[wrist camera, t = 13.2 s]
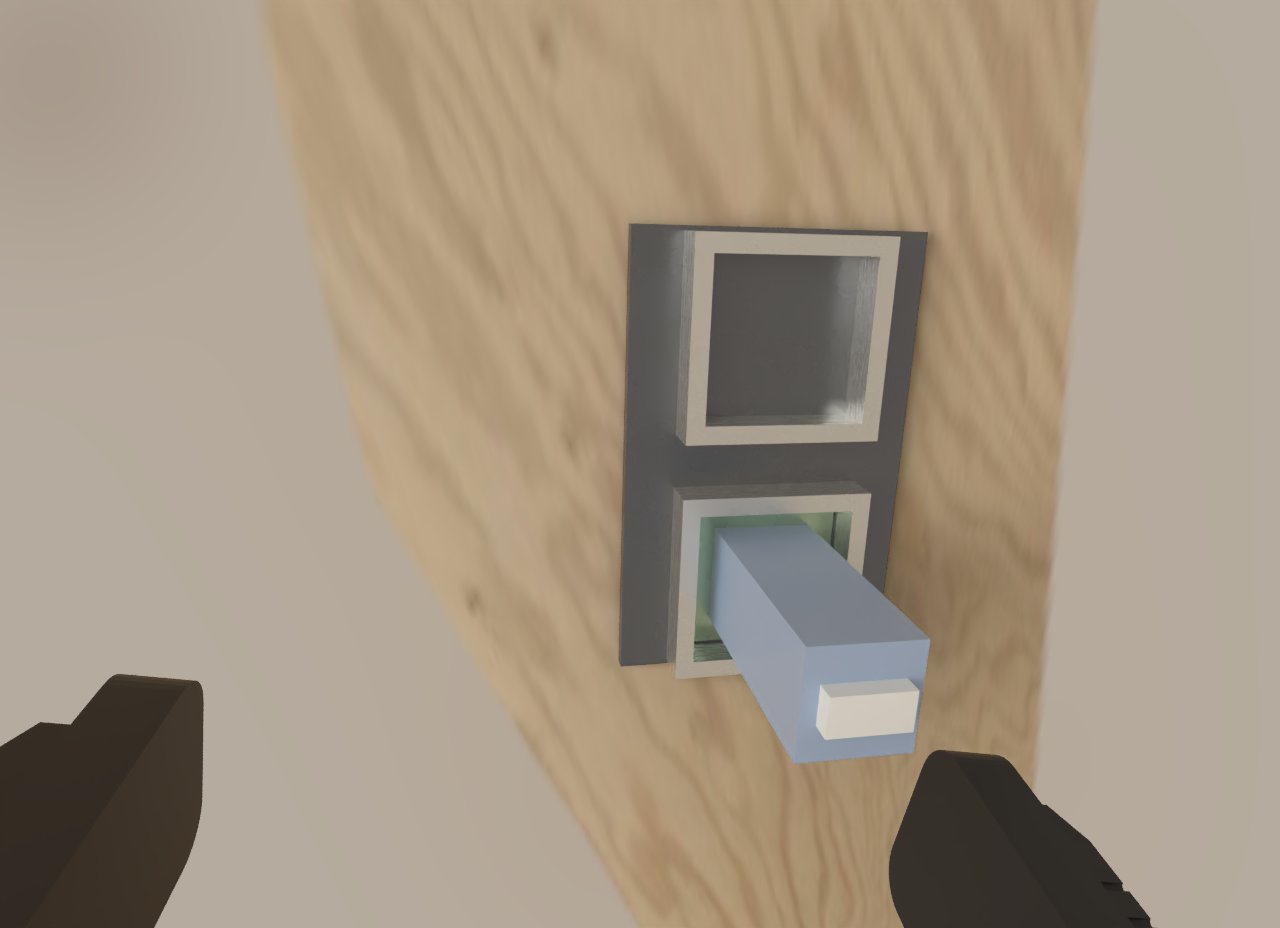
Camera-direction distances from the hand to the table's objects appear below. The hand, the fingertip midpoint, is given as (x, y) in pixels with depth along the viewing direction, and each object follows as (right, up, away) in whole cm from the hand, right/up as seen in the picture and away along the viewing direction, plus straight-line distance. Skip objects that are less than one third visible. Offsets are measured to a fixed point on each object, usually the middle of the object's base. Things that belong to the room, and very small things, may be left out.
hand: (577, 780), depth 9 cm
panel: (+6, +4, +29) cm, 30 cm away
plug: (+6, -2, +29) cm, 30 cm away
